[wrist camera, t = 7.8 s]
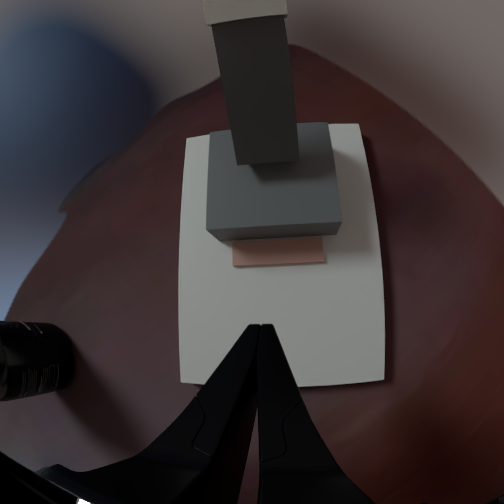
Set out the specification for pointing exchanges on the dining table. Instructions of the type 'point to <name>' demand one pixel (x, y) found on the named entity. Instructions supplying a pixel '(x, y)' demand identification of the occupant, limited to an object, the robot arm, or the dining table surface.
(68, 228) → the dining table surface
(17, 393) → the supplement bottle
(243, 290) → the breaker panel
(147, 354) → the dining table surface
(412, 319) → the dining table surface
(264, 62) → the breaker lever
